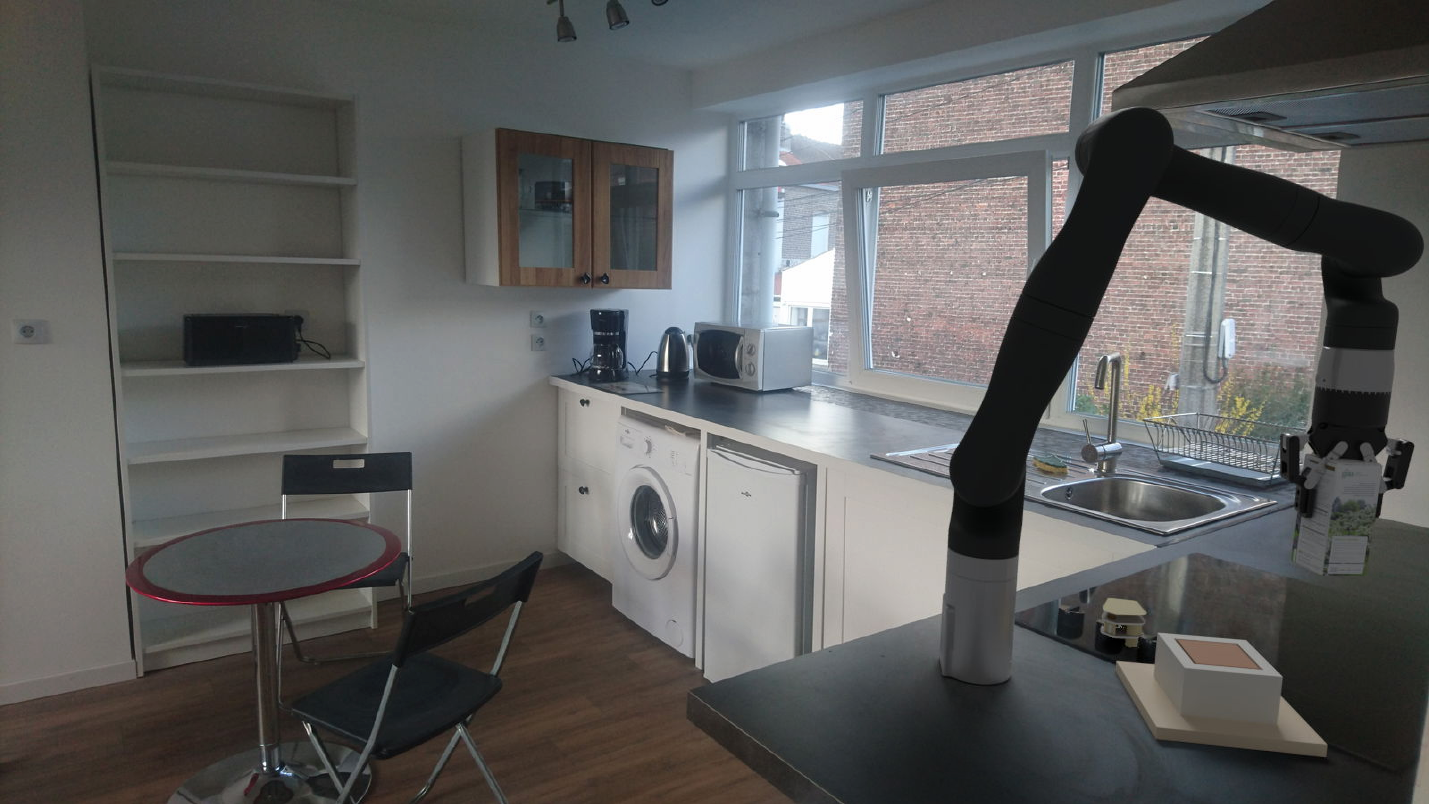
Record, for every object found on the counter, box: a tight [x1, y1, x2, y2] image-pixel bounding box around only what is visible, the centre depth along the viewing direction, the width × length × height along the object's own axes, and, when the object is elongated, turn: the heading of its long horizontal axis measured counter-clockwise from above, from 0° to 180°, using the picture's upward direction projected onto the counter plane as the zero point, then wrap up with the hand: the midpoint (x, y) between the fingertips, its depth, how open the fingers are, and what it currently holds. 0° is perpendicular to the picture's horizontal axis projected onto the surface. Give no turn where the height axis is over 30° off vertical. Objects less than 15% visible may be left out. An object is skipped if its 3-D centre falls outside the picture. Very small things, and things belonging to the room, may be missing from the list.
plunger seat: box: [1177, 640, 1259, 670], centre depth 108 cm, size 7×7×1 cm
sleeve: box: [1115, 632, 1329, 758], centre depth 108 cm, size 18×18×8 cm
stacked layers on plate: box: [1100, 597, 1147, 648], centre depth 129 cm, size 10×9×6 cm
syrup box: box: [1290, 453, 1383, 577], centre depth 108 cm, size 6×6×14 cm
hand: (1335, 518), depth 107 cm, fingers closed on syrup box, 6 cm apart
